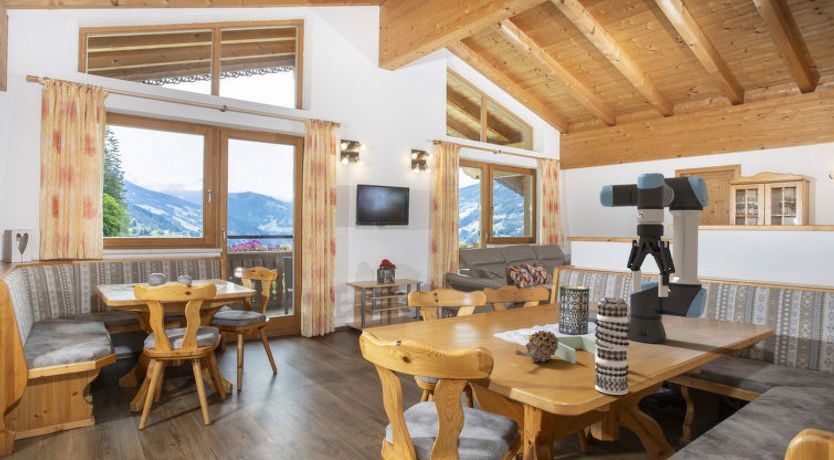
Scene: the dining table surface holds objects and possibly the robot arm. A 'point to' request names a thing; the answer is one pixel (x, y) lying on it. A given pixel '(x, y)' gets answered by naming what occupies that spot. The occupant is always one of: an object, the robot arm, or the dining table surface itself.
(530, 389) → the dining table surface
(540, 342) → the pine cone
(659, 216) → the robot arm
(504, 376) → the dining table surface
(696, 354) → the dining table surface
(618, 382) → the decorative candle
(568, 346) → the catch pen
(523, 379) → the dining table surface
